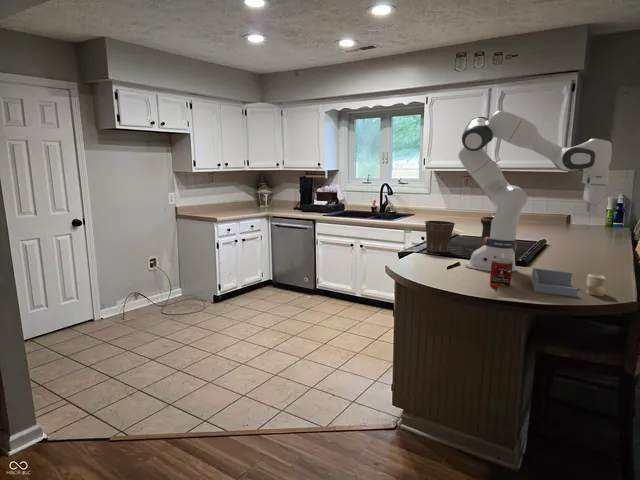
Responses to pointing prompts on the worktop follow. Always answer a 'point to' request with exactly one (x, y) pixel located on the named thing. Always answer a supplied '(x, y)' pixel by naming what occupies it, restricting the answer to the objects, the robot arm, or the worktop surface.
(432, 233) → the plant pot
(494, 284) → the canned food
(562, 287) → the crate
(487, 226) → the vessel
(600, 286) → the birch block
